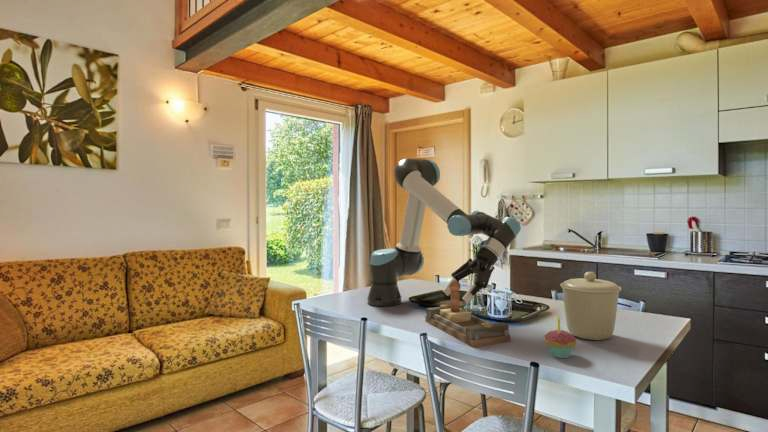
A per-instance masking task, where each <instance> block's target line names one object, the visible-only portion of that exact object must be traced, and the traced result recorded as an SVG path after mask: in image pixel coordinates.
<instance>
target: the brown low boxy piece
mask: <svg viewBox="0 0 768 432" xmlns="http://www.w3.org/2000/svg"><path fill="white" fill-rule="evenodd" d="M449 308H451V304H450V305H449V304H440V305H439V306H437V307H435V306H434V307H427V308H426V315H425V318H424V319H425V320H424V321H425V322H426V323H429V324H430V325H432V326H434V327H435V328H438V329H439V330H441V331H443V332H445V333H446V334H448V335H450V336H453V337H454V338H455V339H457V340H459V341H460V342H463V343H465V344H466V345H469V346H471V347H472V348H475V347H476V348H477V347H481V346H482V345H483V346H488V344H489V345H494V344H493V343H496V344H500V343H501V342H502V343H506V342H507V343H509V342H511V340H512V339H511V337H512V336H511V334H509V330H510V329H509V324H508V323H505V322H496V323H491V322H490V321H487V320H485V319H482V318H480V317H477V316H475V315H473V314H471V321H465V322H458V323H454V322H452V321H450V320H448V319H446V318H443V317H441V316H440V310H441V309H449ZM460 308H462V309H464V306H463V305H461V304H460Z"/></svg>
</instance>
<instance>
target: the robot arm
mask: <svg viewBox="0 0 768 432" xmlns="http://www.w3.org/2000/svg"><path fill="white" fill-rule="evenodd" d="M393 176H394V179H395V182H396V183H397V184H398V186H400V187H401V188H402V190H404V191H405V192H408V195H407V200H406V206H405V211H404V212H405V213H404V217H403V221H402V222H403V223H402V229H401V234H400V239H399V242H398V243H396V244H395V248H382V249H377V250H374V251H372V253H371V254H370V262H369V263H370V288H369V291H368V295H367V304H368V305H371V306H374V307H392V306H398V305H400V304H401V303H402V295H401V292H400V289H399V286H398V278H399V277H404V276H411V275H414V274H417V273H419V272H420V271H421V270H422V269H423V267H424V262H425V261H424V260H425V258H424V256H423V253H422V248H421V247H420V245H419V244H420V238H421V233H422V227H423V222H424V218H425V217H424V216H425V212H426V207H427V208H429V209H430V210H431V212H433V213H434V214H435V215H437V216H438V217H439V218H440V219H441V220H442V221H443V222H445V223H446V224H447V229H448V232H449V233H450V234H451V235H453V236H456V237H457V236H458V237H465V236H473V235H479V234H481V235H484V236H486V237H488V238H487V239H486V240H485V241H484V243H483V245H482V246H481V247H480V248H479V249H478V250H477V252H476V253H475V256H476V258H475V259H474V260H473V259H472V258H469V259H468V260H466V261H465V263H464V264H463V265H461V266H460V267H459V268H458V269H456V270H455V271H453V272H452V273H451V277H452V278H451V280H450V281H449V282H448V283H447V285H446V286H445V287H444V289H442V292H443V293H444V294H445V295H446V296H448V297H449V296H450V288H449V284H450V282H452V281H454V280H455V281H458V282H459V283H460V281H461V280H462V279H464V278H466V277H468V276H469V275H473V274H476V279H475V282H474V283H473V284H472V285H471V286H470V288H469V289H468V290H467V291H466V293H465V294H464V295H463V297H462V298H461V299H462V300H463V301H464V302H465V303H466V304H467V305H469V303H470V302H471V301H472V299H473V298H474V297H475V296H476V295H477V293H478V292H479V291H480V290H481V289H484V290H485V289H486V288H487V287H488V284H489V281H490V279H491V276H492V273H493V271H494V270H495V264H496V263H497V261H498V259H499V258H501V256H502V255H503V254H504V252H505V251H506V250H507V248H509V246H510V245H511V244H512V242H513V241H514V239H516V238H517V236H518V234H519V233H520V232H521V229H522V227H521V224H520V223H519V222H518V221H517V220H516V218H513V217H512V216H505V217H504V218H503V219H498V218H496V217H494V216H491V215H489V214H487V213H485V212H483V211H479V210H474V211H472V212H471V213H470V214H467V213H466V212H465V211H463V210H462V209H461V208H459V206H457V205H456V204H455V203H454V202H452V200H450V199H449V198H448V197H446V196H445V195H444V194H443V193H442V192H441V191H439V190H438V189H437V188H436V187H435V186H436V185H437V184H438V183H439V181H440V178H441V171H440V168H439V166H438V164H437V163H436V162H435V161H433V160H429V159H425V158H412V157H407V158H403V159H400V160H399V161H398V162H397V163H396V165H395V166H394V170H393Z"/></svg>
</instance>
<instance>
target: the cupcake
mask: <svg viewBox="0 0 768 432" xmlns="http://www.w3.org/2000/svg"><path fill="white" fill-rule="evenodd" d="M544 341H545V343H546V344H547V345H548V347H549V350H550V353H551V356H553V357H554V358H555V357H556V358H557V359H567V358H570V356H571V352H572V350H573V348H574V347H575V346H576V345H577V338H576V336H574V335H572V334H571V333H570V332H569V331H567V330H564V329H563V330H562V329H561V318H560V315H558V316H557V329H555V330H554V329H553V330H550V331H548V332H547V333H546V334H545V335H544Z"/></svg>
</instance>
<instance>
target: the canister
mask: <svg viewBox="0 0 768 432" xmlns="http://www.w3.org/2000/svg"><path fill="white" fill-rule="evenodd" d="M583 277H584V278H580V277H579V278H570V279H567V280H564V281H563V282H561V283H560V284H559V286H560V287H561V288H562V297H563V305H564V306H563V307H564V312H565V322H566V327H567V330H568V333H570V334H572V335H573V336H574V337H575V338H580V339H583V340H589V341H603V340H607V339H609V338H611V336H612V335H613V334H614V331H615V327H616V326H615V325H616V318H617V311H618V305H619V304H618V303H619V293H620V292H621V290H622V287H621V286H619V285H618V284H616V283H615V282H614V281H613V282H612V281H609V280H606V279H605V280H604V279H601V278H600V279H598V278H597V275H596V273H595V272H593V271H586V272H584V274H583Z"/></svg>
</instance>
